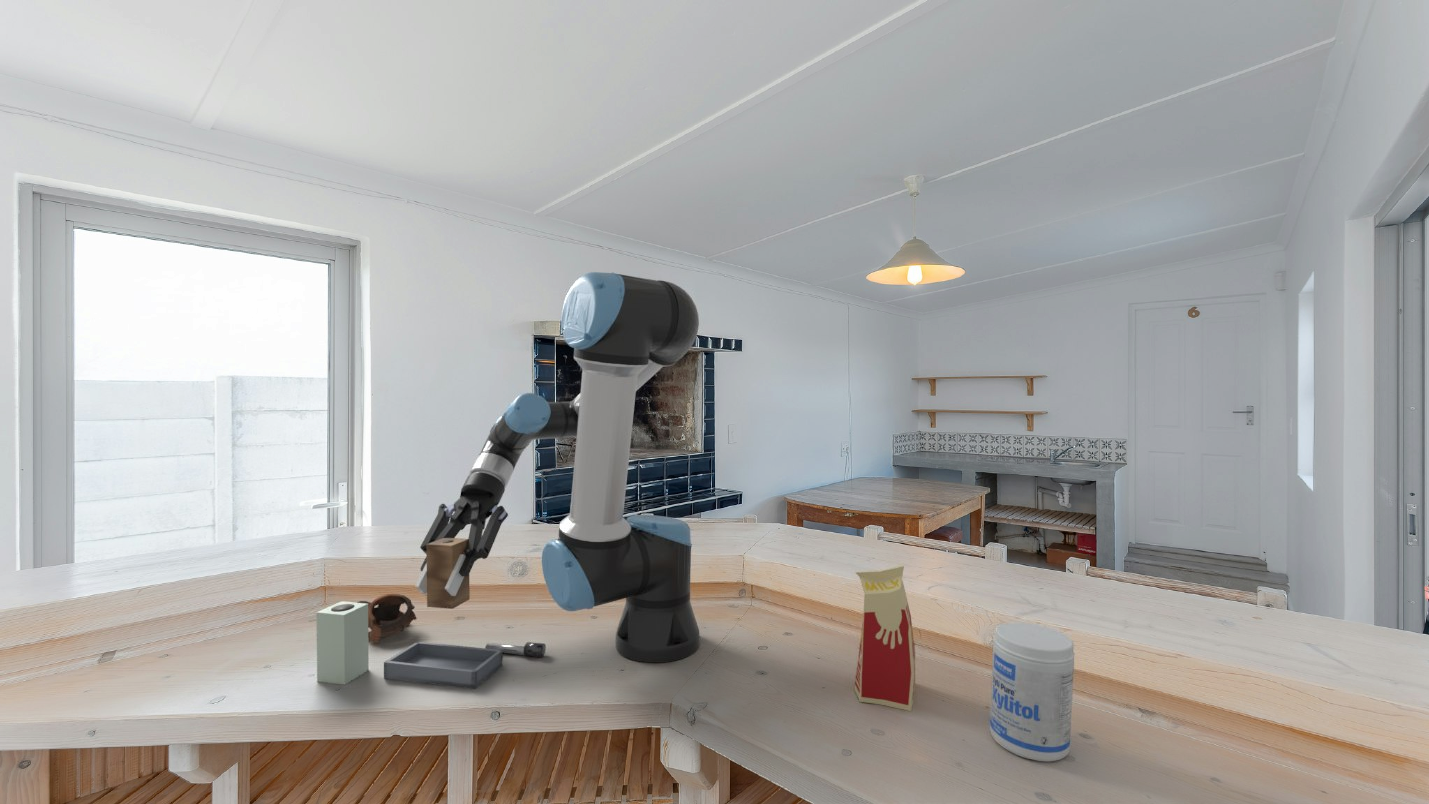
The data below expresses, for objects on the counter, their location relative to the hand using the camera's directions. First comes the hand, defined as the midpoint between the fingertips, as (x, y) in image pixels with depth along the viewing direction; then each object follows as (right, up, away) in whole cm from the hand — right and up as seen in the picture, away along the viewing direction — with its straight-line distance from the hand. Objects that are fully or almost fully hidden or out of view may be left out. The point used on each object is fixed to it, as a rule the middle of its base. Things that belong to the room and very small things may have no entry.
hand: (435, 591), depth 105 cm
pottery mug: (-14, -11, +10) cm, 20 cm away
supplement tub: (+90, -13, -24) cm, 94 cm away
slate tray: (+4, -12, -6) cm, 13 cm away
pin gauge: (+13, -11, +1) cm, 18 cm away
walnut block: (+1, -3, +4) cm, 5 cm away
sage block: (-12, -11, -7) cm, 18 cm away
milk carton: (+74, -13, -11) cm, 76 cm away
